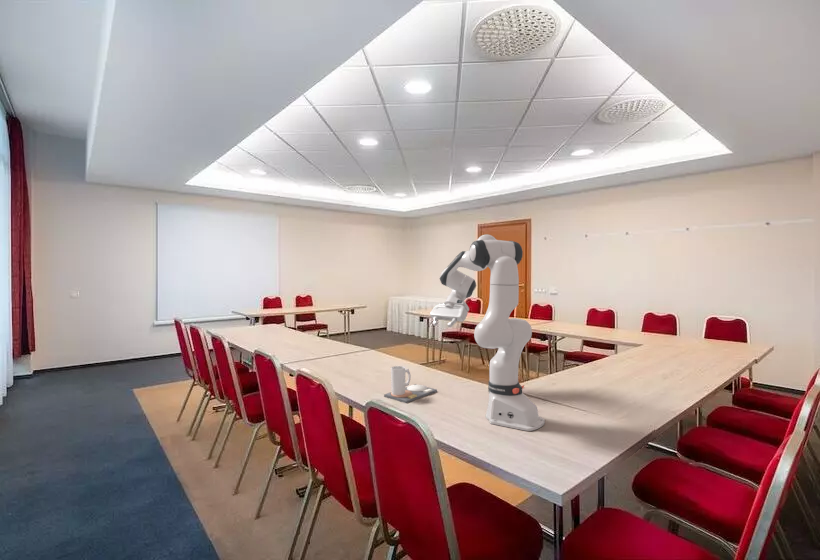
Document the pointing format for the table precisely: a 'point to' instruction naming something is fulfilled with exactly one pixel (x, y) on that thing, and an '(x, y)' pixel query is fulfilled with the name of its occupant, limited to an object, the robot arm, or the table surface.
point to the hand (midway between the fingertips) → (441, 325)
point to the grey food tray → (412, 393)
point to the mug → (399, 380)
